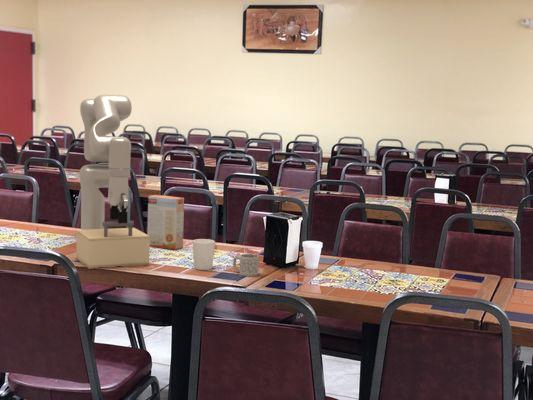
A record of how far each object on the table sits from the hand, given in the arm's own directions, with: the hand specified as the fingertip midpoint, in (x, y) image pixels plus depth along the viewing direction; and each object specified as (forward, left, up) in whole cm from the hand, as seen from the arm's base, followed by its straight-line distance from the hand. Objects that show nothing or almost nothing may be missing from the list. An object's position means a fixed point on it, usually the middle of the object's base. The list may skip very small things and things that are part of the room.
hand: (118, 221), depth 272 cm
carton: (-7, 0, -16) cm, 18 cm away
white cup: (+12, +28, -16) cm, 35 cm away
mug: (+24, +39, -17) cm, 49 cm away
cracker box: (-28, +28, -17) cm, 43 cm away
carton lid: (-7, 0, -6) cm, 9 cm away
